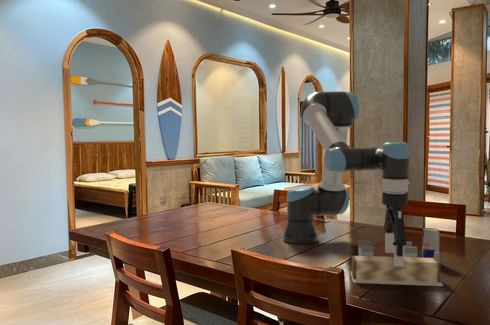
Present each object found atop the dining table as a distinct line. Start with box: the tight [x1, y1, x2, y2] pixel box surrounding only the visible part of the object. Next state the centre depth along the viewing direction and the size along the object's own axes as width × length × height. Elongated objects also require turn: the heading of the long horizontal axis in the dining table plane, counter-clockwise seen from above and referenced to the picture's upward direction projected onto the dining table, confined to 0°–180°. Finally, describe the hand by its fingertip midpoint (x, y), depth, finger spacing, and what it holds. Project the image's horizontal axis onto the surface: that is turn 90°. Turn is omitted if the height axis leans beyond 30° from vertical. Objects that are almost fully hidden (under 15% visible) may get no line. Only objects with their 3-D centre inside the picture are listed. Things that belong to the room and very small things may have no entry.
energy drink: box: [421, 227, 440, 262], centre depth 143 cm, size 5×5×12 cm
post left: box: [357, 240, 375, 256], centre depth 140 cm, size 4×7×8 cm, turn 171°
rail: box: [351, 255, 441, 282], centre depth 127 cm, size 26×5×6 cm, turn 81°
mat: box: [350, 271, 444, 287], centre depth 127 cm, size 26×9×1 cm, turn 81°
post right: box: [404, 241, 418, 258], centre depth 138 cm, size 4×7×8 cm, turn 171°
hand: (393, 259), depth 127 cm, fingers open, 13 cm apart
